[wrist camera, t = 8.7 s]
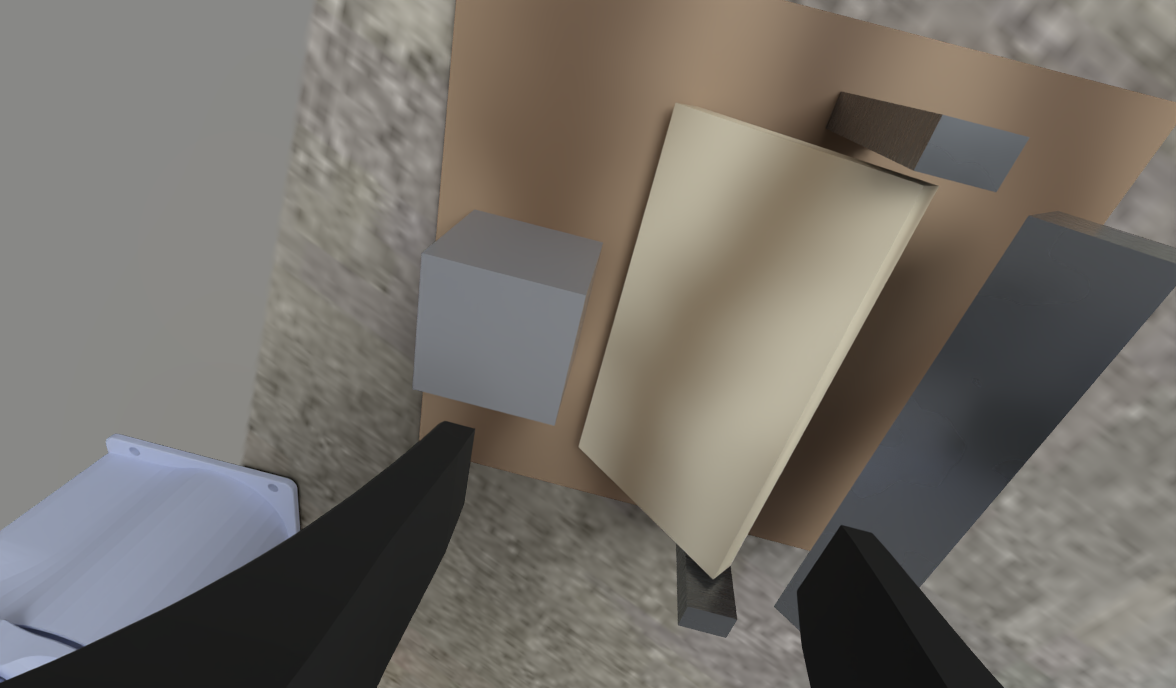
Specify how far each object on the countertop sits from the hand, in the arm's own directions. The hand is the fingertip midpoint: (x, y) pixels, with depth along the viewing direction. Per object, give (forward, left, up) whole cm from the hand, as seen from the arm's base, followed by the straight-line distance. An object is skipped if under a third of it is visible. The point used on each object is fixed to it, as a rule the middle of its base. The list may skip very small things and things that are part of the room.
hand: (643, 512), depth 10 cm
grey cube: (-2, 0, -8) cm, 8 cm away
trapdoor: (+6, 0, -9) cm, 11 cm away
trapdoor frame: (+2, 0, -10) cm, 11 cm away
